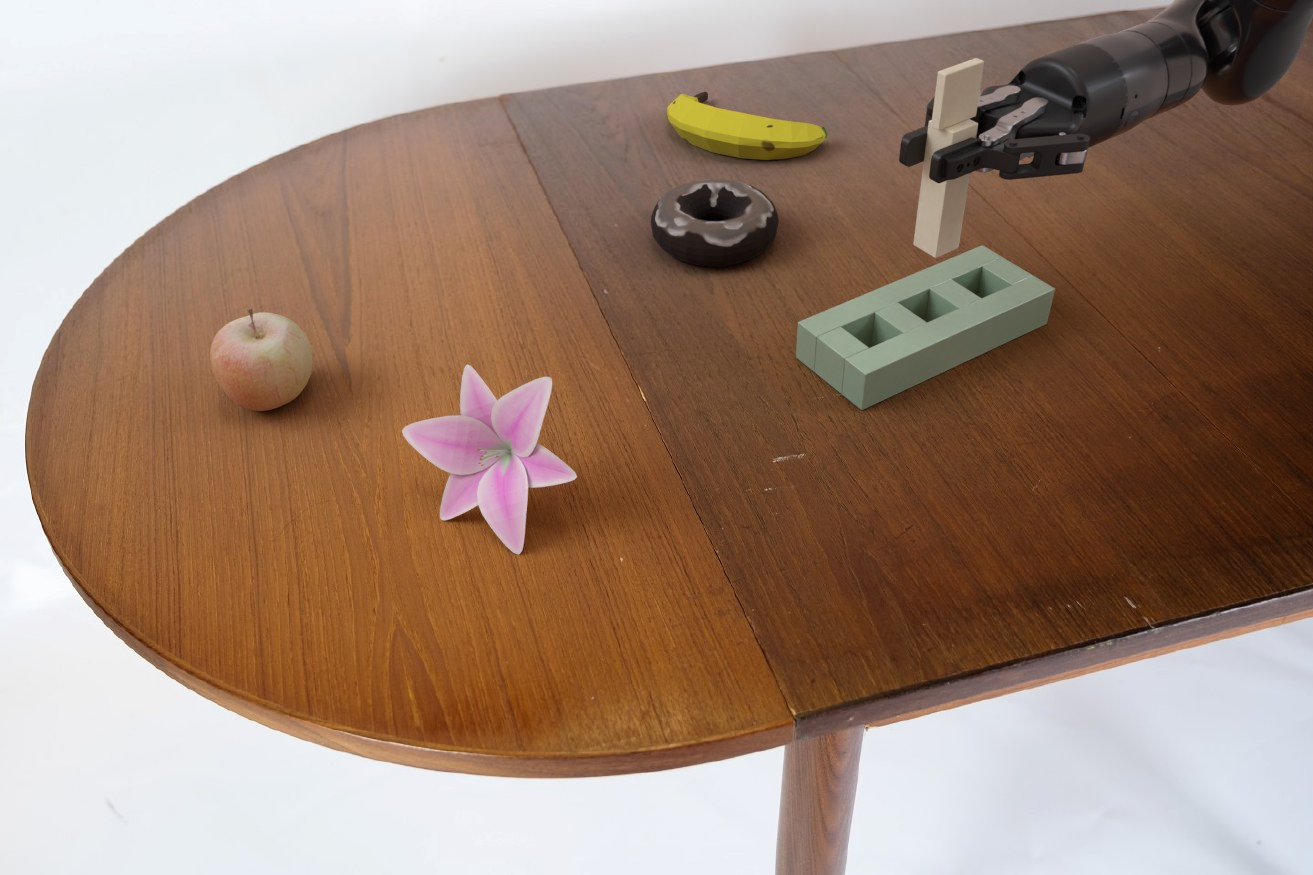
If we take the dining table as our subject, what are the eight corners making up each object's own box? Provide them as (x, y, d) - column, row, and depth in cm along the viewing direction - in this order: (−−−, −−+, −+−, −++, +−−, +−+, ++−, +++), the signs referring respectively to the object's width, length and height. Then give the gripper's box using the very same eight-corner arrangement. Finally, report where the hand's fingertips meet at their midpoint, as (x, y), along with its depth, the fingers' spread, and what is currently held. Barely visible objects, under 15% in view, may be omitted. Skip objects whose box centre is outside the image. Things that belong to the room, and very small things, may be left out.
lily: (409, 474, 83) (358, 430, 75) (530, 372, 85) (495, 317, 76) (506, 593, 79) (464, 562, 70) (632, 483, 81) (607, 439, 72)
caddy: (1047, 324, 93) (1055, 288, 91) (861, 411, 86) (865, 374, 83) (976, 279, 99) (982, 244, 96) (795, 357, 91) (797, 321, 89)
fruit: (240, 369, 92) (212, 286, 87) (330, 367, 92) (307, 284, 87) (212, 429, 87) (180, 345, 81) (307, 427, 86) (281, 342, 81)
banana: (828, 128, 112) (834, 88, 125) (656, 110, 114) (679, 72, 127) (821, 173, 115) (828, 129, 127) (653, 154, 116) (676, 112, 129)
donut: (802, 250, 103) (805, 211, 101) (692, 289, 99) (691, 249, 96) (734, 197, 111) (734, 160, 108) (628, 231, 107) (626, 193, 104)
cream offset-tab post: (964, 245, 85) (994, 64, 76) (929, 261, 83) (954, 79, 74) (942, 232, 86) (967, 53, 77) (906, 247, 85) (928, 67, 76)
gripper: (1026, 17, 87) (855, 76, 80) (1180, 75, 78) (1002, 147, 71) (1010, 108, 92) (848, 171, 85) (1153, 174, 83) (984, 250, 76)
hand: (919, 160), depth 78 cm, fingers closed on cream offset-tab post, 2 cm apart
